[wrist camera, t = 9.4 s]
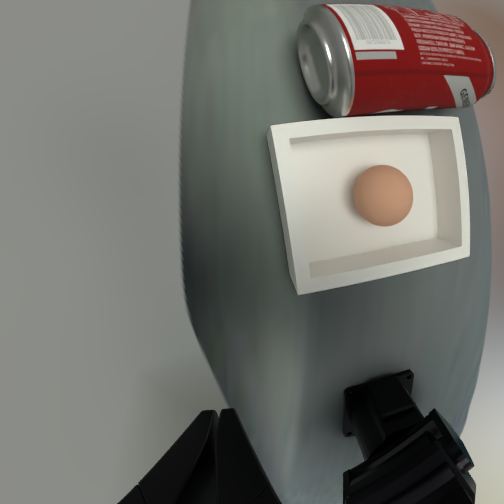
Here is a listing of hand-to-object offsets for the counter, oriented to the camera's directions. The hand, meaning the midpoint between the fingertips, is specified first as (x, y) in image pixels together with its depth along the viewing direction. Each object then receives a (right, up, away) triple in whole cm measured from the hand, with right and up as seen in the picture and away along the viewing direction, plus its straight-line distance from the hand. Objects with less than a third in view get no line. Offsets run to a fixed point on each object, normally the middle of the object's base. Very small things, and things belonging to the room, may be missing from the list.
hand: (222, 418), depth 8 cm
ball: (+9, +8, +8) cm, 14 cm away
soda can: (+4, +15, +5) cm, 16 cm away
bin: (+8, +9, +10) cm, 16 cm away
